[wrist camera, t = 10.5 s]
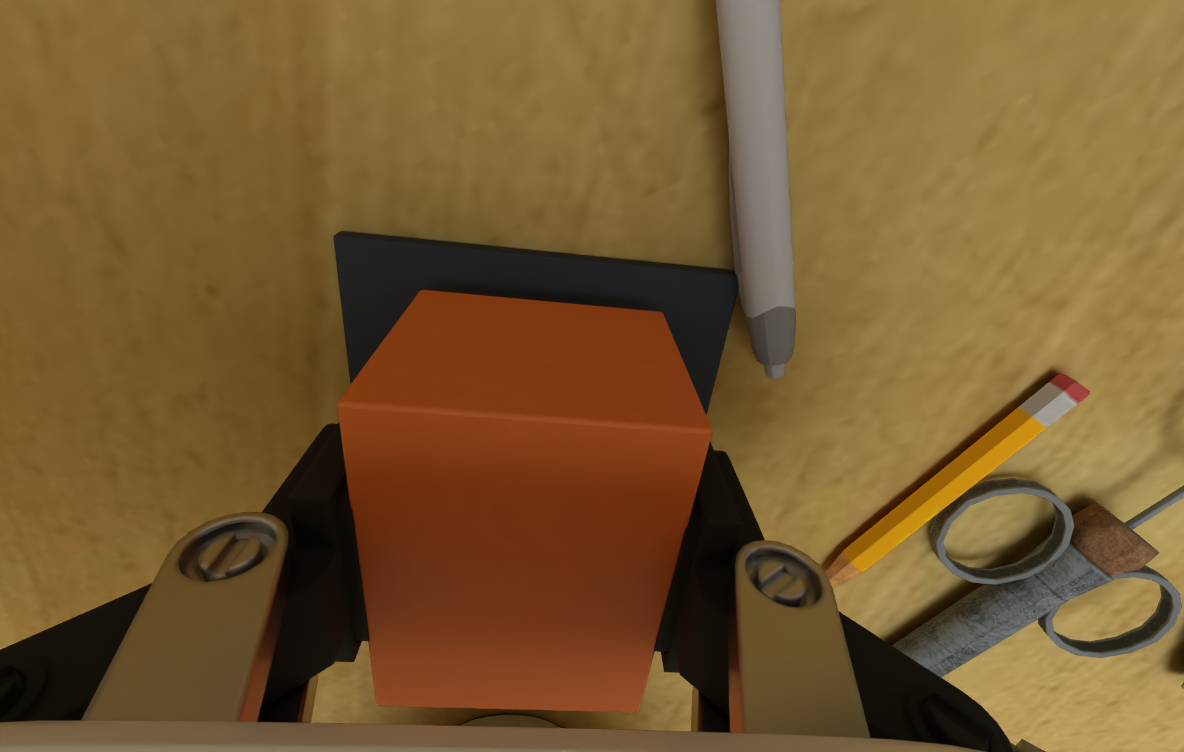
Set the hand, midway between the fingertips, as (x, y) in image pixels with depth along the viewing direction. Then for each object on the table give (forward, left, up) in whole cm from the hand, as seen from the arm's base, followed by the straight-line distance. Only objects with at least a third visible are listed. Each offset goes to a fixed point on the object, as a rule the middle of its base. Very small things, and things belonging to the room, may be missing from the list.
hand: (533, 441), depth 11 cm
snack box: (0, 0, 0) cm, 0 cm away
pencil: (+11, -2, -1) cm, 11 cm away
